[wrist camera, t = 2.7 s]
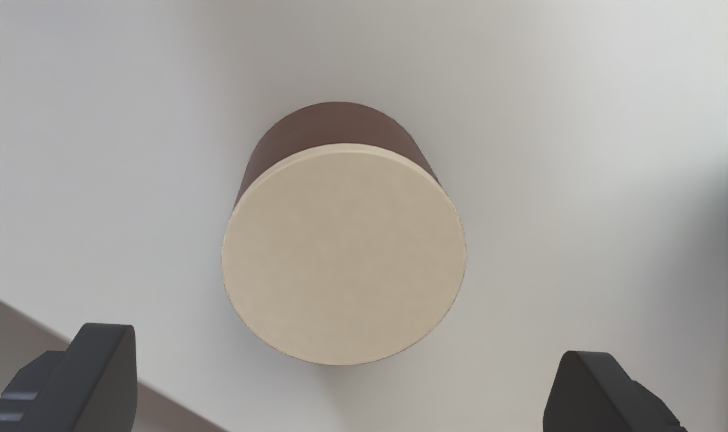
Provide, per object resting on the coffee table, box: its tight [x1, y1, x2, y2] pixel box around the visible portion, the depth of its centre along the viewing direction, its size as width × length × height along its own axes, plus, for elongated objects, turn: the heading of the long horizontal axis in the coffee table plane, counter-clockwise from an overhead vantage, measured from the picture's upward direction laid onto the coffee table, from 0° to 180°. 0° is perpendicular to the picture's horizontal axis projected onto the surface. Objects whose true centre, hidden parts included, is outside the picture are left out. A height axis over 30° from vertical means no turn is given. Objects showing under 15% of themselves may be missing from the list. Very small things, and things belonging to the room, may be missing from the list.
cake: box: [221, 102, 466, 366], centre depth 16 cm, size 6×6×5 cm
